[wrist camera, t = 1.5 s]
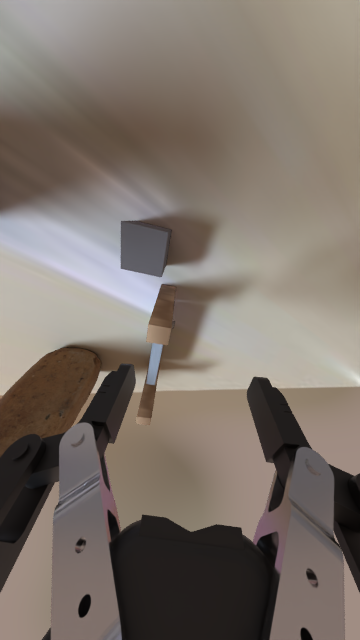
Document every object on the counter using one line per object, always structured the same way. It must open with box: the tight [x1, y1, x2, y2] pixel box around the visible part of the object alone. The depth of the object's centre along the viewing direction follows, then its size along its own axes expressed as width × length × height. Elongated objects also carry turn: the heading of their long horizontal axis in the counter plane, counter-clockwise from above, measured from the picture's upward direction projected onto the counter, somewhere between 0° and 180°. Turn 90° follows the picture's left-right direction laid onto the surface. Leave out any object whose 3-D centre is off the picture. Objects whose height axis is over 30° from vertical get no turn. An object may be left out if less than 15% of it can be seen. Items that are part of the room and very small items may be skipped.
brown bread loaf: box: [0, 348, 101, 457], centre depth 27 cm, size 11×8×20 cm
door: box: [146, 321, 175, 385], centre depth 28 cm, size 3×14×6 cm, turn 168°
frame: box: [136, 284, 176, 425], centre depth 27 cm, size 2×21×12 cm, turn 168°
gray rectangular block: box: [121, 221, 172, 277], centre depth 20 cm, size 5×5×6 cm
